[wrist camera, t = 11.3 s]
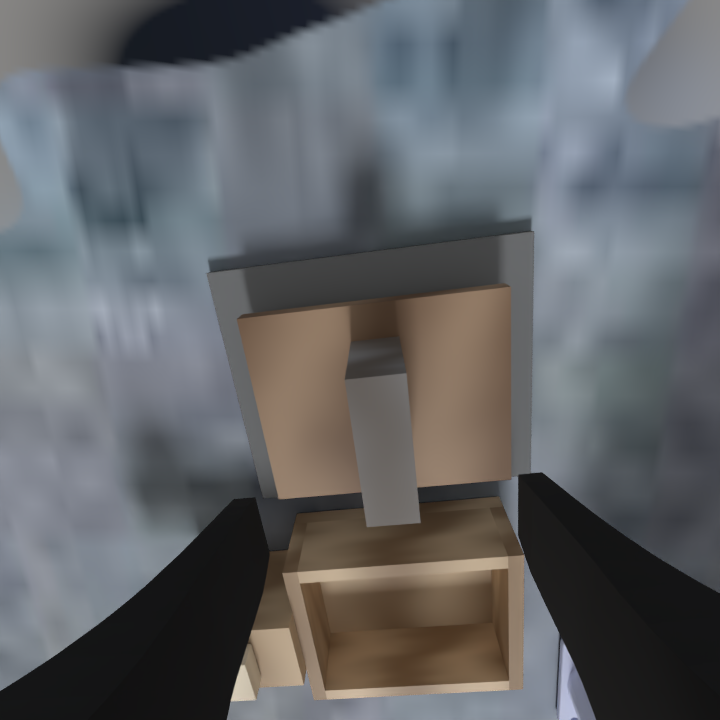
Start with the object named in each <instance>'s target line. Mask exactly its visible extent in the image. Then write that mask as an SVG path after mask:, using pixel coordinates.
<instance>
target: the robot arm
mask: <svg viewBox="0 0 720 720" xmlns="http://www.w3.org/2000/svg"><path fill="white" fill-rule="evenodd" d="M518 536H519V539H520V542H521V545H522V548H523V551H524V554H525V557H526V560H527V563H528V566H529V569H530V572H531V574H532V576H533V578H534V581H535V583H536V585H537V587H538V589H539V591H540V593H541V596H542V598H543V600H544V602H545V604H546V606H547V608H548V610H549V612H550V615H551V617H552V619H553V621H554V623H555V625H556V627H557V629H558V631H559V633H560V636H561V638H562V639H561V641H560V660H559V679H558V698H557V718H558V720H720V593H718V592H716V591H714V590H712V589H710V588H709V587H707V586H705V585H703V584H701V583H700V582H698V581H696V580H694V579H693V578H691V577H689V576H688V575H686V574H684V573H683V572H681V571H679V570H677V569H676V568H674V567H672V566H671V565H669V564H667V563H666V562H664V561H662V560H661V559H659V558H658V557H656V556H654V555H653V554H651V553H650V552H648V551H647V550H645V549H644V548H642V547H641V546H639V545H638V544H636V543H635V542H633V541H632V540H630V539H629V538H627V537H626V536H624V535H623V534H622V533H620V532H619V531H617V530H616V529H615V528H613V527H612V526H610V525H609V524H608V523H606V522H605V521H603V520H602V519H601V518H599V517H598V516H597V515H595V514H594V513H593V512H591V511H590V510H589V509H588V508H586V507H585V506H584V505H582V504H581V503H580V502H579V501H577V500H576V499H575V498H573V497H572V496H571V495H570V494H568V493H567V492H566V491H565V490H563V489H562V488H561V487H560V486H558V485H557V484H556V483H555V482H553V481H552V480H551V479H550V478H548V477H547V476H546V475H545V474H543V473H542V472H541V473H530V474H518ZM269 557H270V553H269V549H268V545H267V541H266V537H265V534H264V530H263V526H262V522H261V518H260V514H259V510H258V507H257V503H256V499H255V497H254V498H243V499H234V500H233V501H232V502H231V503H230V504H229V505H228V506H227V507H226V508H225V509H224V510H223V511H222V512H221V513H220V514H219V515H218V516H217V517H216V518H215V519H214V520H213V521H212V522H211V523H210V524H209V525H208V526H207V527H206V528H205V529H204V530H203V531H202V532H201V533H200V534H199V535H198V536H197V537H196V538H195V539H194V540H193V541H192V542H191V543H190V544H189V545H188V546H187V547H186V548H185V549H184V550H183V551H182V552H181V553H180V554H179V555H178V556H177V557H176V558H175V559H174V560H173V561H172V562H171V563H170V564H169V565H168V566H166V567H165V568H164V569H163V570H162V571H161V572H160V573H159V574H158V575H157V576H156V577H155V578H154V579H153V580H151V581H150V582H149V583H148V584H147V585H146V586H145V587H144V588H143V589H141V590H140V591H139V592H138V593H137V594H136V595H134V596H133V597H132V598H131V599H130V600H129V601H127V602H126V603H125V604H124V605H122V606H121V607H120V608H119V609H117V610H116V611H115V612H114V613H112V614H111V615H110V616H109V617H107V618H106V619H105V620H104V621H102V622H101V623H100V624H98V625H97V626H96V627H94V628H93V629H91V630H90V631H89V632H87V633H86V634H84V635H83V636H82V637H80V638H79V639H78V640H76V641H75V642H73V643H72V644H71V645H69V646H68V647H67V648H65V649H64V650H62V651H61V652H60V653H58V654H57V655H55V656H54V657H52V658H51V659H49V660H48V661H46V662H45V663H43V664H42V665H40V666H39V667H37V668H36V669H34V670H33V671H31V672H30V673H28V674H27V675H25V676H24V677H22V678H20V679H19V680H17V681H16V682H14V683H12V684H11V685H9V686H8V687H6V688H4V689H3V690H1V691H0V720H227V715H228V711H229V706H230V702H231V698H232V694H233V690H234V687H235V683H236V680H237V676H238V673H239V670H240V667H241V663H242V660H243V657H244V654H245V650H246V647H247V644H248V641H249V637H250V634H251V631H252V628H253V625H254V621H255V618H256V615H257V611H258V608H259V605H260V601H261V598H262V594H263V591H264V585H265V580H266V575H267V569H268V563H269Z"/></svg>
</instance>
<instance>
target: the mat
mask: <svg viewBox="0 0 720 720" xmlns="http://www.w3.org/2000/svg"><path fill="white" fill-rule="evenodd" d="M533 274H534V231H527V232H519V233H511V234H503V235H495V236H488V237H480V238H472V239H464V240H456V241H449V242H441V243H433V244H425V245H417V246H410V247H402V248H394V249H386V250H378V251H371V252H363V253H355V254H347V255H339V256H332V257H324V258H316V259H308V260H300V261H293V262H285V263H277V264H269V265H261V266H254V267H246V268H238V269H230V270H222V271H215V272H209V273H207V278H208V282H209V286H210V290H211V294H212V297H213V301H214V305H215V309H216V313H217V317H218V321H219V325H220V329H221V333H222V337H223V341H224V345H225V349H226V353H227V357H228V361H229V365H230V369H231V373H232V377H233V381H234V385H235V389H236V393H237V397H238V401H239V405H240V409H241V413H242V417H243V421H244V425H245V428H246V432H247V436H248V440H249V444H250V448H251V452H252V456H253V460H254V464H255V468H256V472H257V476H258V480H259V484H260V488H261V492H262V496H263V498H274V497H278V493H277V489H276V485H275V481H274V476H273V472H272V468H271V464H270V459H269V455H268V451H267V446H266V442H265V438H264V434H263V429H262V425H261V421H260V417H259V412H258V408H257V404H256V400H255V395H254V391H253V387H252V382H251V378H250V374H249V370H248V365H247V361H246V357H245V353H244V348H243V344H242V340H241V336H240V331H239V327H238V323H237V318H239V317H240V316H241V315H242V314H249V313H257V312H266V311H274V310H282V309H291V308H299V307H308V306H316V305H325V304H333V303H342V302H350V301H358V300H367V299H375V298H384V297H392V296H401V295H409V294H418V293H426V292H434V291H443V290H451V289H460V288H468V287H477V286H485V285H494V284H502V283H505V284H507V285H509V286H510V287H511V477H514V476H518V474H530V473H531V410H532V342H533Z"/></svg>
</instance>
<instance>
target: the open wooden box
mask: <svg viewBox="0 0 720 720" xmlns="http://www.w3.org/2000/svg"><path fill="white" fill-rule="evenodd" d="M419 511H420V521H421V523H414V524H401V525H389V526H376V527H367V525H366V518H365V512H364V508H357V509H345V510H333V511H322V512H310V513H298V514H297V515H296V519H295V524H294V528H293V532H292V536H291V540H290V544H289V548H288V550H282V551H269V553H270V557H269V563H268V569H267V575H266V580H265V585H264V591H263V594H262V598H261V601H260V605H259V608H258V611H257V615H256V618H255V621H254V625H253V628H252V631H251V634H250V637H249V641H248V644H251V645H252V649H253V652H254V655H255V658H256V662H257V665H258V668H259V671H260V675H261V682H260V686H259V688H260V687H278V686H297V685H304V681H305V674H306V670H307V673H308V677H309V681H310V685H311V689H312V693H313V697H314V700H325V699H344V698H364V697H383V696H402V695H422V694H441V693H460V692H479V691H499V690H518V689H523V629H524V554H523V551H522V549H521V547H520V544H519V542H518V540H517V537H516V535H515V533H514V530H513V528H512V526H511V523H510V521H509V519H508V517H507V514H506V512H505V510H504V507H503V505H502V503H501V500H500V498H499V497H487V498H476V499H464V500H452V501H440V502H428V503H419Z"/></svg>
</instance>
